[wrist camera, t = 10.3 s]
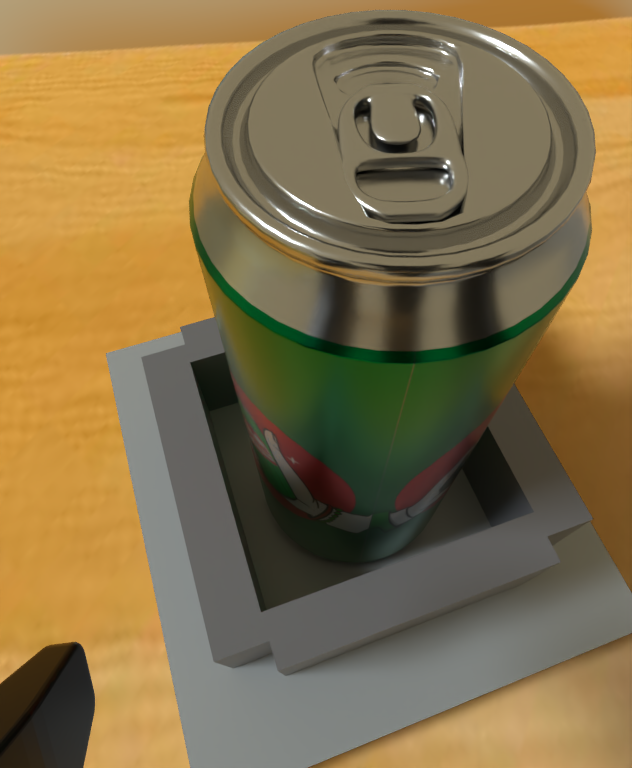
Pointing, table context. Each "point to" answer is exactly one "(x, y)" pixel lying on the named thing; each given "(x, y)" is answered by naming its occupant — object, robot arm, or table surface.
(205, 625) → the socket
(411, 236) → the soda can
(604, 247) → the table surface
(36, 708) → the robot arm
